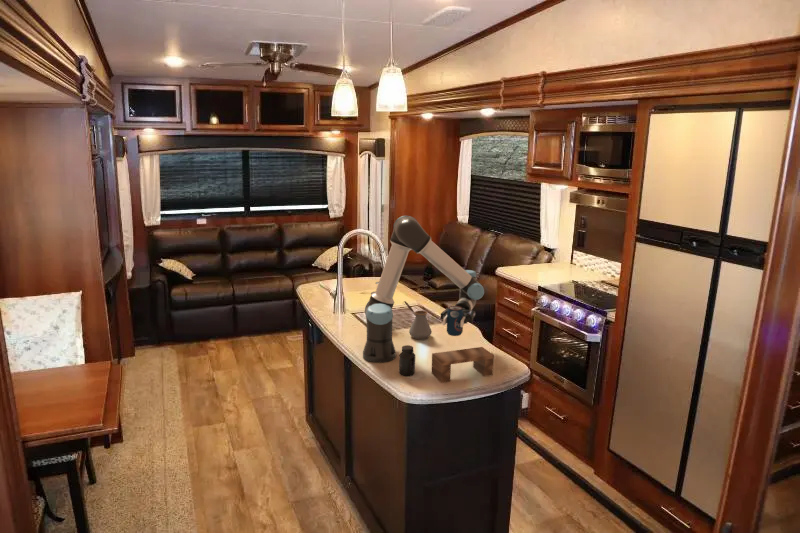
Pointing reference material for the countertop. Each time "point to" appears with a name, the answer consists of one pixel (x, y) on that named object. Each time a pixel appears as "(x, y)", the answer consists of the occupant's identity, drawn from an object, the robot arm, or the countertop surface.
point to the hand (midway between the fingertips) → (452, 323)
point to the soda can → (454, 320)
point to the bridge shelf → (445, 359)
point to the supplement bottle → (407, 361)
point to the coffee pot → (419, 325)
